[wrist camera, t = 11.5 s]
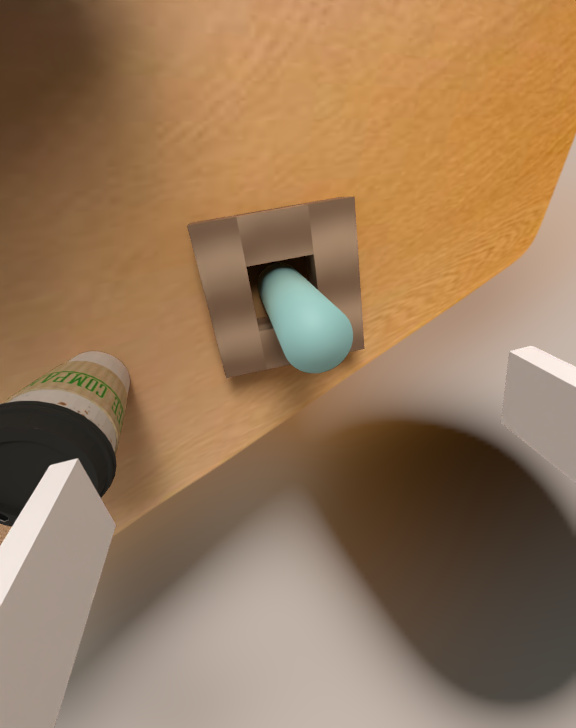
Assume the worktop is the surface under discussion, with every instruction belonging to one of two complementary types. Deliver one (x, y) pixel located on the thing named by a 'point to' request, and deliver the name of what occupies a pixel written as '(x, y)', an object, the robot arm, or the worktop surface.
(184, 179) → the worktop surface
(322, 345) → the peg
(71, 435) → the coffee cup
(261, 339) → the socket block
